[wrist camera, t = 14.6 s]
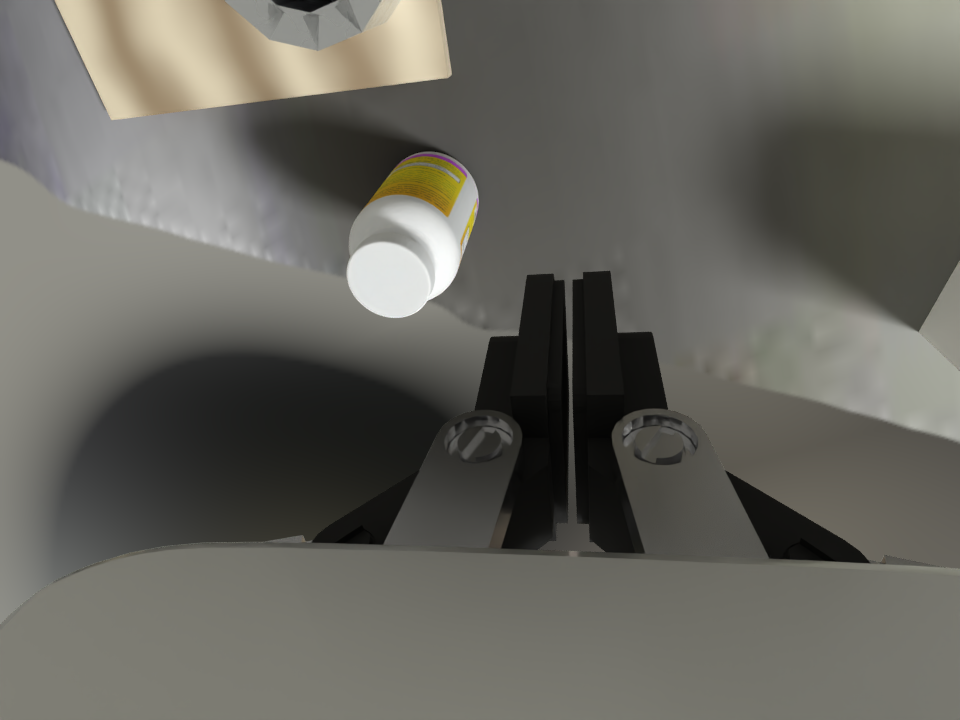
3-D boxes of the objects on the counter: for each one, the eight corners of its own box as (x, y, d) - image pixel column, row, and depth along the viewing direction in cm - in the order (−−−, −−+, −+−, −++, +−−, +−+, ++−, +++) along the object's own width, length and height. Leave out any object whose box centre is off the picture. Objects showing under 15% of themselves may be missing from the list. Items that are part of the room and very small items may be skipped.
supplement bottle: (373, 164, 40) (305, 240, 30) (461, 135, 38) (419, 206, 28) (411, 249, 44) (360, 343, 33) (492, 226, 42) (466, 319, 31)
